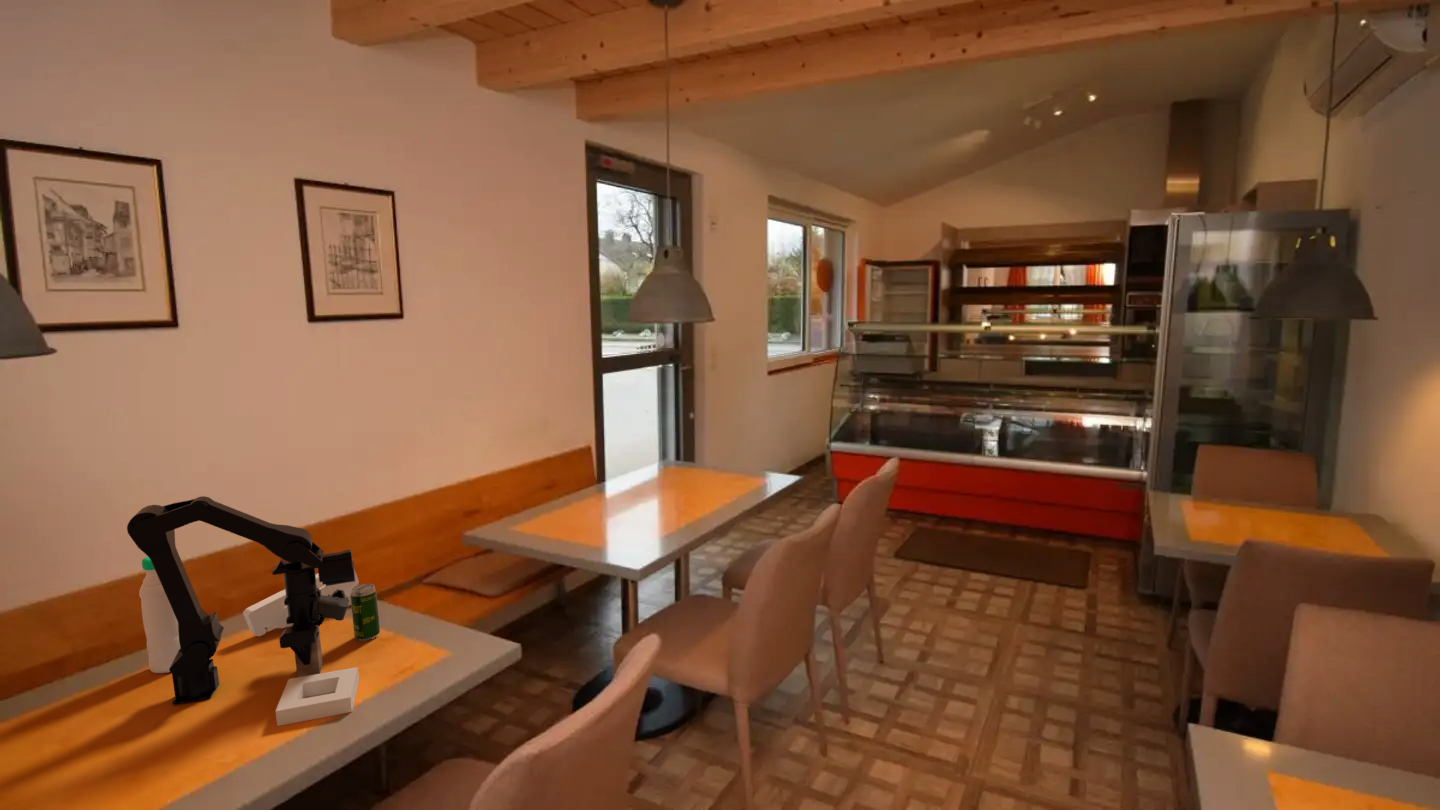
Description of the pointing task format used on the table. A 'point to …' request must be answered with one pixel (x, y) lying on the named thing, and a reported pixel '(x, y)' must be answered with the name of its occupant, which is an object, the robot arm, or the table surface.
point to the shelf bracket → (283, 608)
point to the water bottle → (158, 621)
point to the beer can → (365, 612)
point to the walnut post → (315, 660)
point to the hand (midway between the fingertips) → (309, 659)
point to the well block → (321, 706)
